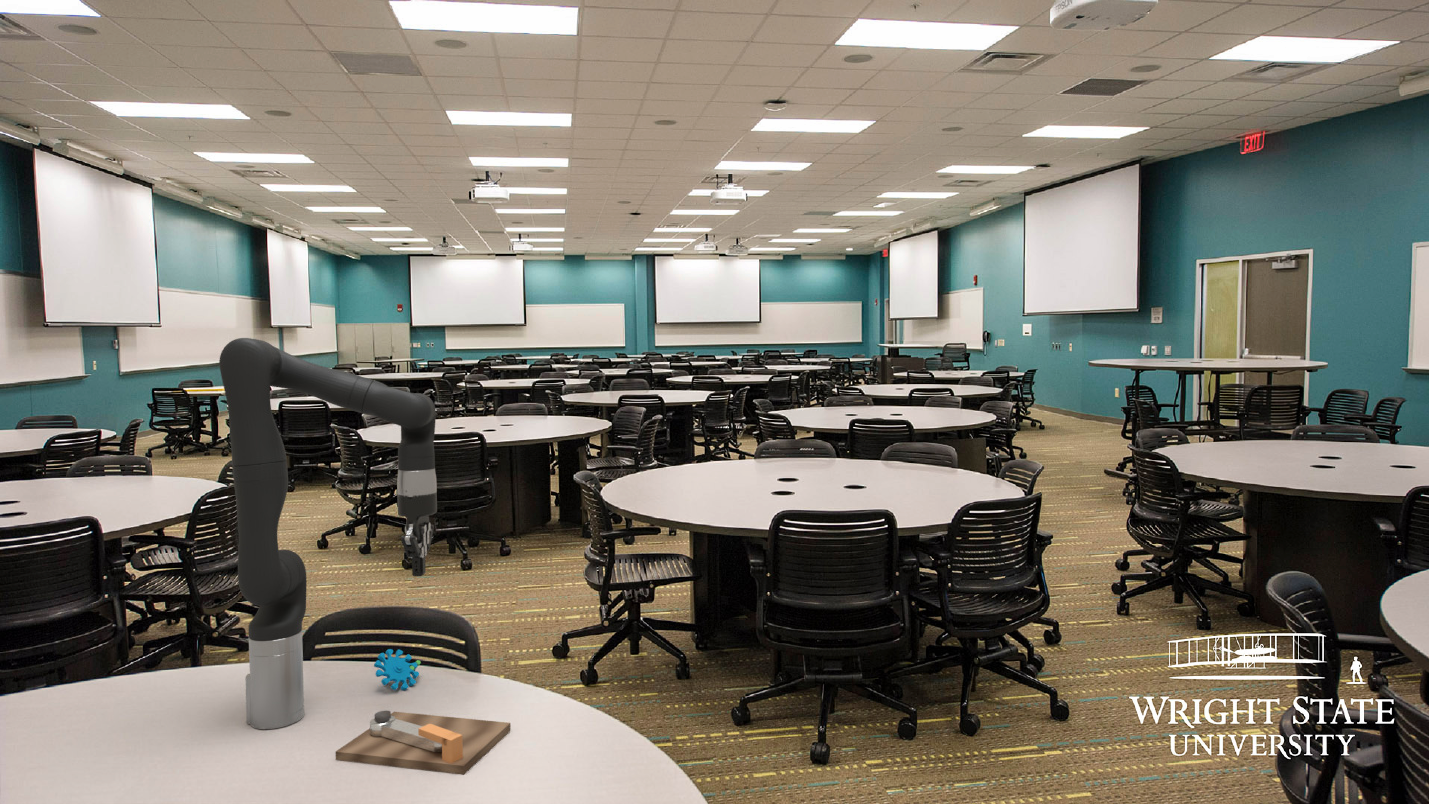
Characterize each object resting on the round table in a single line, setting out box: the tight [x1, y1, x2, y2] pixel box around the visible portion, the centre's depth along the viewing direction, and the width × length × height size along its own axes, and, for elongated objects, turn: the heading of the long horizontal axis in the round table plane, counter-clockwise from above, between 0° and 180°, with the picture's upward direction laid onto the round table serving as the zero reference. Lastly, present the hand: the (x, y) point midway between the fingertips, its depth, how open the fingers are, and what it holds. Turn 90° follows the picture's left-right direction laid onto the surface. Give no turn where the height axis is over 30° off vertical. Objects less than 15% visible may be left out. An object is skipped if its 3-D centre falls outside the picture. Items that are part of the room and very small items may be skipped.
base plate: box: [335, 710, 512, 775], centre depth 146 cm, size 25×17×5 cm
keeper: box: [418, 724, 463, 764], centre depth 139 cm, size 9×2×4 cm, turn 57°
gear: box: [373, 648, 421, 691], centre depth 175 cm, size 11×6×10 cm
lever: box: [369, 716, 442, 753], centre depth 145 cm, size 19×4×2 cm, turn 62°
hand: (418, 575), depth 163 cm, fingers closed
